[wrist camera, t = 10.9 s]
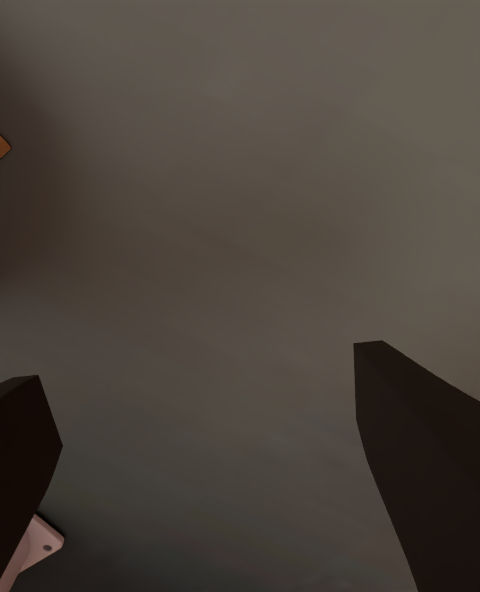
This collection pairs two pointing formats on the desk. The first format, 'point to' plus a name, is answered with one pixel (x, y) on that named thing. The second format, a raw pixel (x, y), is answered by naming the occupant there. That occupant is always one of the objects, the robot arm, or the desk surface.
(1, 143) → the rack
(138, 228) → the desk surface
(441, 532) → the robot arm
